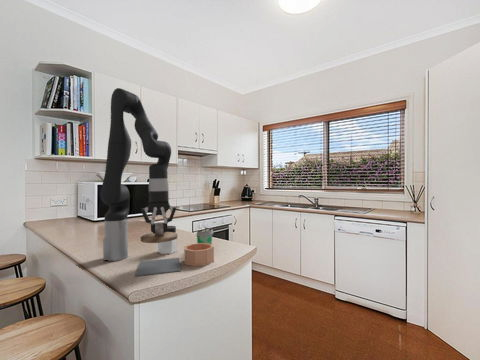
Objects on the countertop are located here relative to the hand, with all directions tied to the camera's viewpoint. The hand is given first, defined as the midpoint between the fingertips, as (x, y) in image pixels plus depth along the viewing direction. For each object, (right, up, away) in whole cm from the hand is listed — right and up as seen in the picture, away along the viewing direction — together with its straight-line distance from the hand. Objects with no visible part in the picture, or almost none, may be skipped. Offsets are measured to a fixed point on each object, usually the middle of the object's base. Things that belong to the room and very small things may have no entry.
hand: (159, 232), depth 96 cm
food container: (+16, -14, +23) cm, 31 cm away
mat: (0, -14, 0) cm, 14 cm away
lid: (0, -2, 0) cm, 2 cm away
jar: (-3, -14, +21) cm, 25 cm away
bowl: (+15, -13, +6) cm, 21 cm away
